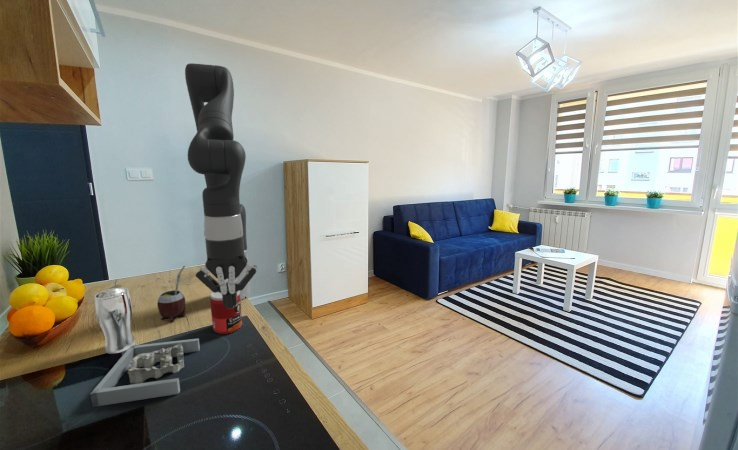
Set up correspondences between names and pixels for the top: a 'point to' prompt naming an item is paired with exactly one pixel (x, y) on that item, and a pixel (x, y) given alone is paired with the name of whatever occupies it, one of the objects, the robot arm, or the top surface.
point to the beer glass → (115, 319)
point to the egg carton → (150, 359)
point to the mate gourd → (172, 303)
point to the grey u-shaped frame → (111, 395)
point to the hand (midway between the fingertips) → (230, 307)
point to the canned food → (225, 314)
